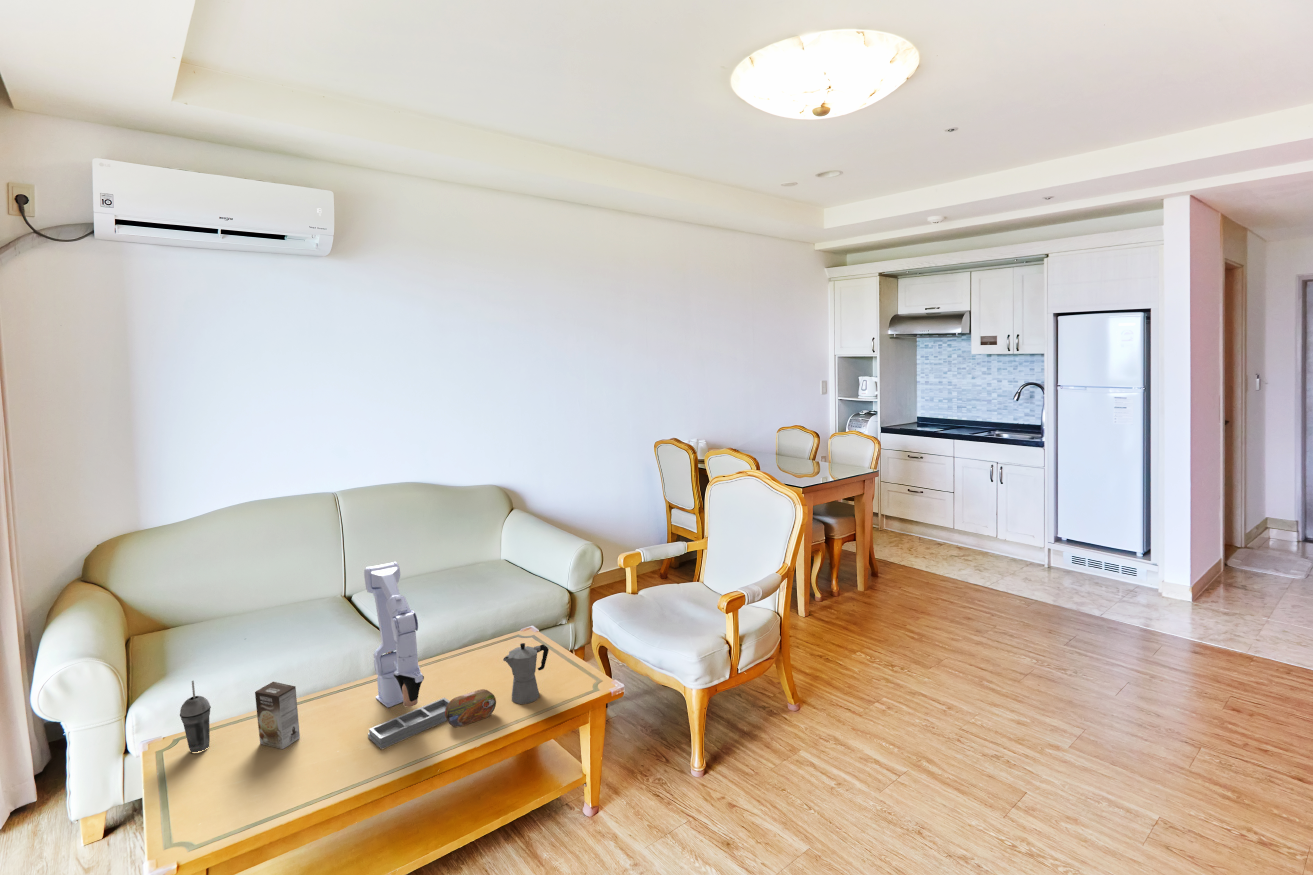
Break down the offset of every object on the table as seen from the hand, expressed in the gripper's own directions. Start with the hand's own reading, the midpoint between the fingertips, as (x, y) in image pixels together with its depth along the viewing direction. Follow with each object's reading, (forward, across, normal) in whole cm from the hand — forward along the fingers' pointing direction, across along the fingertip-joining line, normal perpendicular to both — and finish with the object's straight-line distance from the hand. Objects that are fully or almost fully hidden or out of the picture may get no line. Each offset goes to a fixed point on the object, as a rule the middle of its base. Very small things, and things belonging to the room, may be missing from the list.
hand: (410, 697), depth 197 cm
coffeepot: (+9, +11, +34) cm, 37 cm away
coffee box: (+9, -22, -30) cm, 38 cm away
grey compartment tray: (+9, 0, 0) cm, 9 cm away
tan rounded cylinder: (+2, 0, 0) cm, 2 cm away
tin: (+9, +10, +14) cm, 19 cm away
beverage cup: (+9, -34, -47) cm, 59 cm away
